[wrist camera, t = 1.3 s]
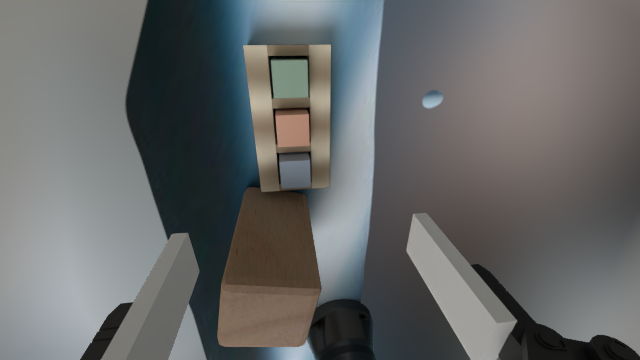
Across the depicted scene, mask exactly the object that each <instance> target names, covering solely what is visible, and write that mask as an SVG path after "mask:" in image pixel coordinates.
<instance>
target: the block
mask: <svg viewBox="0 0 640 360" xmlns="http://www.w3.org/2000/svg"><path fill="white" fill-rule="evenodd" d="M321 289H322V288H321V282H320V276H319V270H318V264H317V258H316V252H315V246H314V240H313V234H312V228H311V222H310V216H309V210H308V203H307V198H306V195H305V194H302V193H297V192H289V191H270V192H261V188H257V187H248V188H247V189H246V190H245V192H244V196H243V200H242V204H241V208H240V212H239V216H238V220H237V224H236V228H235V232H234V236H233V240H232V244H231V248H230V252H229V256H228V260H227V264H226V268H225V272H224V276H223V280H222V284H221V296H220V309H219V322H218V335H217V337H218V341H219V344H220V345H222V346H225V347H299V346H301V345H303V344H304V343H305V341H306V338H307V335H308V332H309V328H310V325H311V322H312V318H313V315H314V312H315V308H316V305H317V302H318V298H319V295H320V292H321Z"/></svg>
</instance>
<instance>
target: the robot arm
mask: <svg viewBox="0 0 640 360" xmlns="http://www.w3.org/2000/svg"><path fill="white" fill-rule="evenodd" d="M406 251H407V253H408V255H409V256H410V258H411V260H412V261H413V263H414V265H415V266H416V268H417V269H418V271H419V273H420V275H421V276H422V278H423V280H424V281H425V283H426V285H427V287H428V288H429V290H430V292H431V293H432V295H433V297H434V298H435V300H436V302H437V303H438V305H439V307H440V308H441V310H442V312H443V313H444V315H445V317H446V318H447V320H448V322H449V323H450V325H451V327H452V329H453V330H454V332H455V333H456V335H457V337H458V339H459V340H460V342H461V344H462V345H463V347H464V349H465V350H466V352H467V354H468V355H469V357H470V359H471V360H497V358H498V356H499V357H500V359H501V360H640V356H639V355H638V354H637V353H636V352H635V351H634V350H632V349H631V348H630V347H629V346H627V345H626V344H624V343H622V342H621V341H619V340H617V339H615V338H611V337H609V336H605V335H597V336H595V337H593V338H592V339H591V340H590V342H589V343H588V342H583V341H577V340H572V339H566V338H563V337H562V336H561V335H560V334H558V333H557V332H556V331H554V330H553V329H551V328H549V327H547V326H544V325H541V324H537V323H536V322H535V321H534V320H533V319H532V318H531V317H530V316H529V315H528V314H527V312H526V311H525V310H524V309H523V308H522V307H521V306H520V305H519V304H518V302H517V301H516V300H515V299H514V298H513V297H512V296H511V295H510V294H509V293H508V291H506V289H505V288H504V287H503V286H502V285H501V284H500V283H499V281H498V280H497V279H496V278H495V277H494V276H493V275H492V274H491V273H490V272H489V271H488V270H486V269H485V268H483V267H482V266H480V265H479V264H475V265H470V264H469V263H468V262H467V261H466V260H465V258H464V257H463V256H462V255H461V254H460V253H459V251H458V250H457V249H456V248H455V246H454V245H453V244H452V243H451V242H450V241H449V239H448V238H447V237H446V236H445V235H444V233H443V232H442V231H441V230H440V229H439V227H438V226H437V225H436V224H435V223H434V222H433V221H432V219H431V218H430V217H429V216H428V215H427V213H418V214H413V218H412V223H411V229H410V234H409V240H408V245H407V250H406ZM198 274H199V268H198V265H197V262H196V258H195V255H194V252H193V248H192V245H191V242H190V239H189V235H188V233H179V234H172V235H171V237H170V239H169V240H168V242H167V244H166V246H165V248H164V250H163V251H162V253H161V255H160V256H159V258H158V260H157V262H156V264H155V265H154V267H153V269H152V271H151V272H150V274H149V276H148V277H147V279H146V281H145V283H144V285H143V286H142V288H141V290H140V292H139V293H138V295H137V297H136V299H135V300H134V302H132V303H123V304H120V305H119V306H118V307H117V308H116V309H114V311H112V312H111V313H110V314H109V315H108V316H107V318H106V320H105V321H104V323H103V324H102V326H101V328H100V330H99V332H97V334H96V335H95V337H94V339H93V341H92V343H90V345H89V346H88V348H87V350H86V351H85V353H84V354H83V356H82V358H81V359H80V360H168V358H169V356H170V352H171V350H172V347H173V344H174V341H175V339H176V336H177V333H178V330H179V328H180V324H181V321H182V319H183V316H184V313H185V311H186V308H187V305H188V302H189V299H190V297H191V294H192V291H193V288H194V285H195V283H196V280H197V277H198ZM307 341H308V344H309V346H310V348H311V350H312V353H313V355H314V357H315V360H376V359H375V355H374V352H373V321H372V318H371V315H370V312H369V310H368V309H367V308H366V306H364V305H363V304H361V303H359V302H356V301H352V300H337V301H332V302H329V303H326V304H324V305H322V306H320V307H318V308H317V309H315V312H314V315H313V318H312V322H311V325H310V328H309V332H308V335H307Z"/></svg>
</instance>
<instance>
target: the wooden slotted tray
mask: <svg viewBox="0 0 640 360" xmlns="http://www.w3.org/2000/svg"><path fill="white" fill-rule="evenodd" d="M243 47H244V55H245V63H246V71H247V79H248V87H249V95H250V103H251V111H252V119H253V127H254V136H255V144H256V152H257V160H258V168H259V176H260V184H261V192H270V191H284V190H299V189H313V188H327V187H329V185H330V89H331V45H243ZM297 55H306V60H307V65H308V97H303V98H274V93H272V83H271V71H270V60H269V56H297ZM300 107H308V114H309V141H310V146H295V147H278V140H277V136H276V130H275V118H274V108H300ZM306 151H309V158H310V179H311V187H302V188H287V189H282V188H281V176H280V172H279V165H278V153H287V152H306Z"/></svg>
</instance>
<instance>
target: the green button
mask: <svg viewBox="0 0 640 360" xmlns="http://www.w3.org/2000/svg"><path fill="white" fill-rule="evenodd" d="M271 69H272V81H273V92H274V98H303V97H308V65H307V60H306V59H305V58H300V59H272V60H271Z"/></svg>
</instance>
